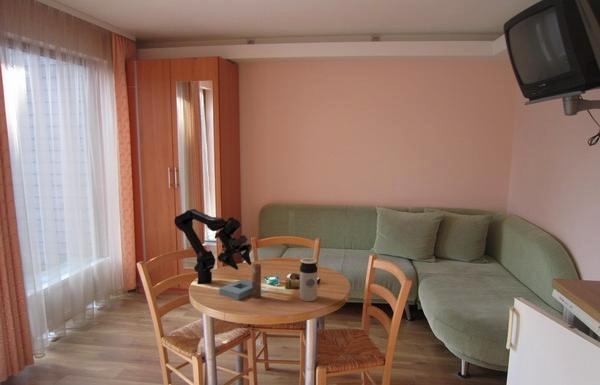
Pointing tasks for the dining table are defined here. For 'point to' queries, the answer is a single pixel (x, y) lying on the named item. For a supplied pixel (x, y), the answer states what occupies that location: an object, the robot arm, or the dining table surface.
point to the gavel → (292, 282)
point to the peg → (256, 280)
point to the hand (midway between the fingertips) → (244, 266)
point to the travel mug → (308, 279)
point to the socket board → (237, 289)
